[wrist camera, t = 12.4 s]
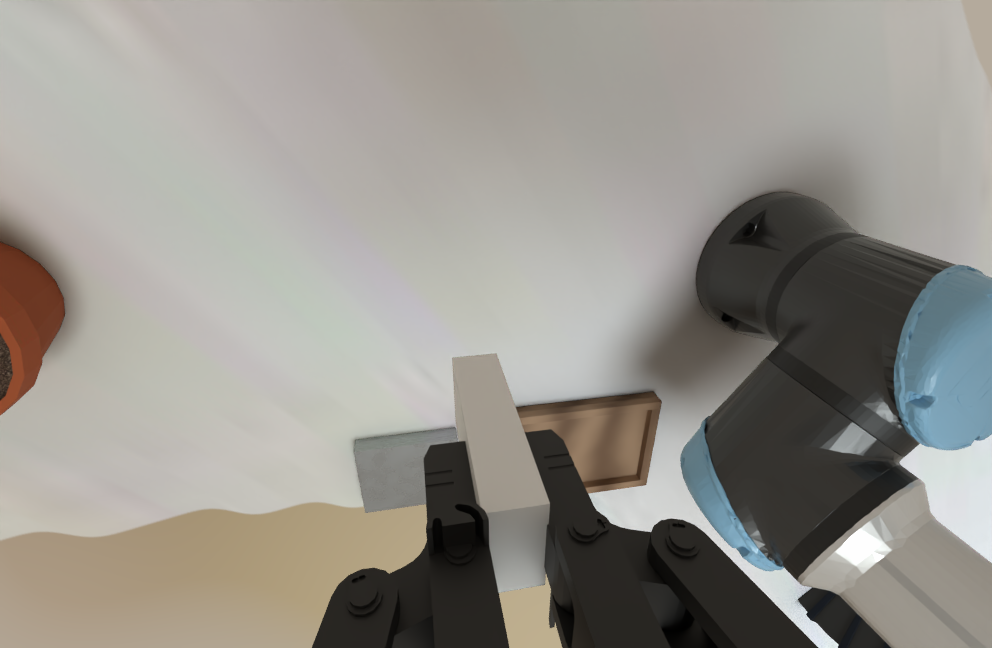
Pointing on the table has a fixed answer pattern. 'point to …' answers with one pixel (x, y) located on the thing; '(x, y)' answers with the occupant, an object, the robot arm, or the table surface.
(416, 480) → the cover plate
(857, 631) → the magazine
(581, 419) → the brown wooden tray
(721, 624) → the robot arm
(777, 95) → the table surface
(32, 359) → the potted plant
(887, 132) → the table surface
